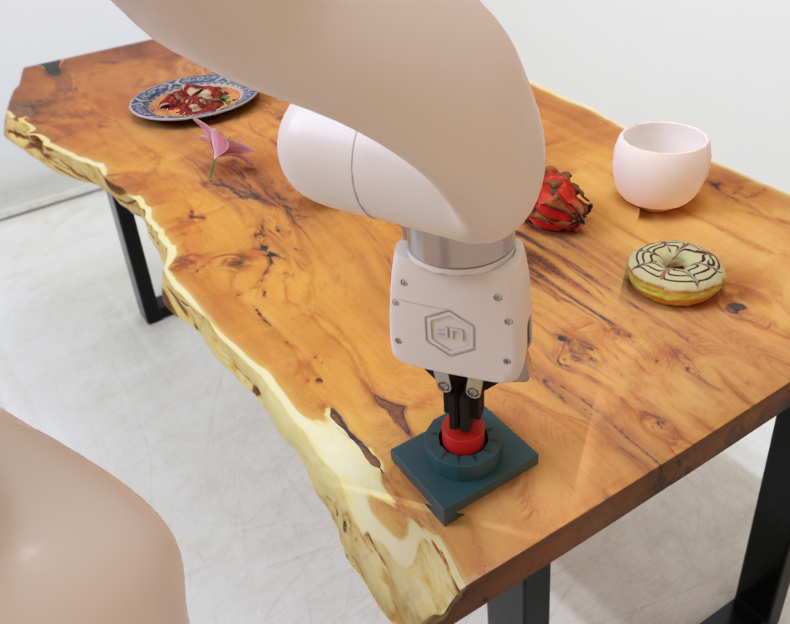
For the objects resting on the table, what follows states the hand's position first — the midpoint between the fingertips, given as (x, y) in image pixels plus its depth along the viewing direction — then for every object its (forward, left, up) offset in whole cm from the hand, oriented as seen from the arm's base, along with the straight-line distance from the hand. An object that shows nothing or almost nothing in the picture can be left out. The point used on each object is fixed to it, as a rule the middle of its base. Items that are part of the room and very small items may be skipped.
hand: (464, 419), depth 59 cm
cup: (+54, -11, -6) cm, 55 cm away
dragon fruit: (+44, +1, -6) cm, 44 cm away
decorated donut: (+34, -15, -6) cm, 37 cm away
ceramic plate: (+75, +79, -6) cm, 109 cm away
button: (0, 0, -2) cm, 2 cm away
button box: (0, 0, -6) cm, 6 cm away
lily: (+49, +55, -6) cm, 74 cm away
